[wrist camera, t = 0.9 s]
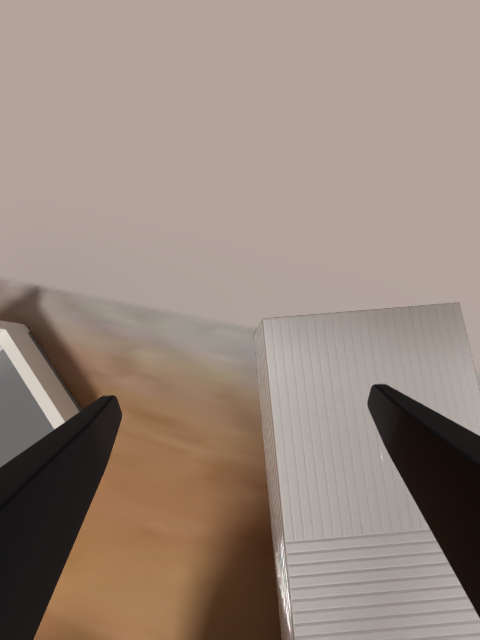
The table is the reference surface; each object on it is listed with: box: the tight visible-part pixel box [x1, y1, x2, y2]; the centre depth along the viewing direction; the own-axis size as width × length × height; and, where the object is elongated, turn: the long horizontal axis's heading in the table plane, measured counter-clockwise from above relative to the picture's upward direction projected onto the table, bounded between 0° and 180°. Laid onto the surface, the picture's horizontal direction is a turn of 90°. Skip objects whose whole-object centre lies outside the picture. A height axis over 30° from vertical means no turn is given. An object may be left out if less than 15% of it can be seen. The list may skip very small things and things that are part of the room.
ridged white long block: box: [254, 302, 480, 640], centre depth 16 cm, size 32×11×11 cm, turn 5°
